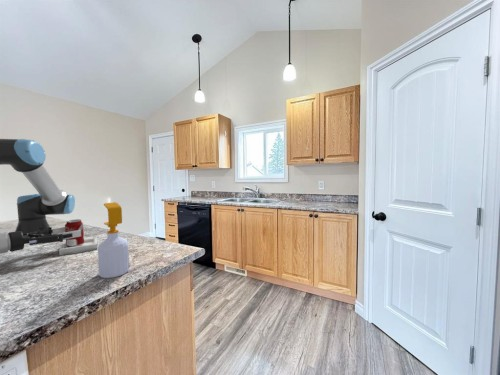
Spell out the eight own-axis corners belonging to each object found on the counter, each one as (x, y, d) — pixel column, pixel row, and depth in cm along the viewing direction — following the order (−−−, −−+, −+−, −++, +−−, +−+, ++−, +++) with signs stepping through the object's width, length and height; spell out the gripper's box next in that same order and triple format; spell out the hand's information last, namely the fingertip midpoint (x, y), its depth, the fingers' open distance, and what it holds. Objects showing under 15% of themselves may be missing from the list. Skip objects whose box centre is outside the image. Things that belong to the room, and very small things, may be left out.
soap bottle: (123, 265, 85) (120, 200, 84) (133, 271, 80) (131, 202, 78) (95, 273, 79) (92, 203, 77) (105, 281, 73) (101, 205, 71)
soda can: (76, 248, 103) (74, 222, 102) (62, 247, 103) (60, 222, 102) (87, 243, 109) (86, 219, 109) (74, 243, 110) (73, 219, 109)
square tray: (63, 247, 108) (63, 241, 107) (97, 242, 115) (97, 237, 115) (59, 255, 96) (59, 249, 96) (97, 249, 104) (97, 244, 104)
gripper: (3, 246, 94) (66, 234, 111) (15, 258, 80) (86, 243, 97) (2, 228, 94) (65, 219, 111) (13, 238, 79) (85, 226, 96)
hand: (75, 230), depth 104 cm, fingers open, 13 cm apart
